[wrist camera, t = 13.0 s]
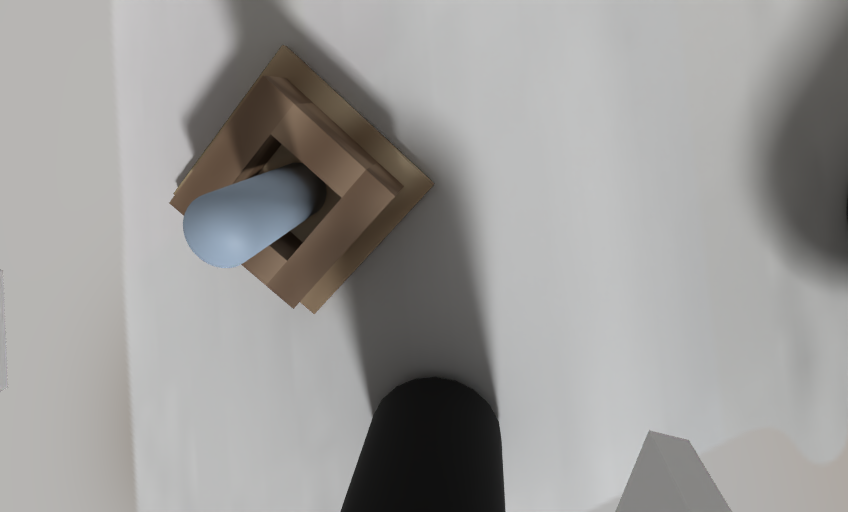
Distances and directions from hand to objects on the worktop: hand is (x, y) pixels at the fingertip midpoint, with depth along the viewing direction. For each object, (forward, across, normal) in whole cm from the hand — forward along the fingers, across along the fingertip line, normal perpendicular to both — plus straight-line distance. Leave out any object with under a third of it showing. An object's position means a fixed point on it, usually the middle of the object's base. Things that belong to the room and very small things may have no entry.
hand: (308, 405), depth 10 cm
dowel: (+28, -10, -3) cm, 30 cm away
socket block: (+29, -10, -3) cm, 30 cm away
